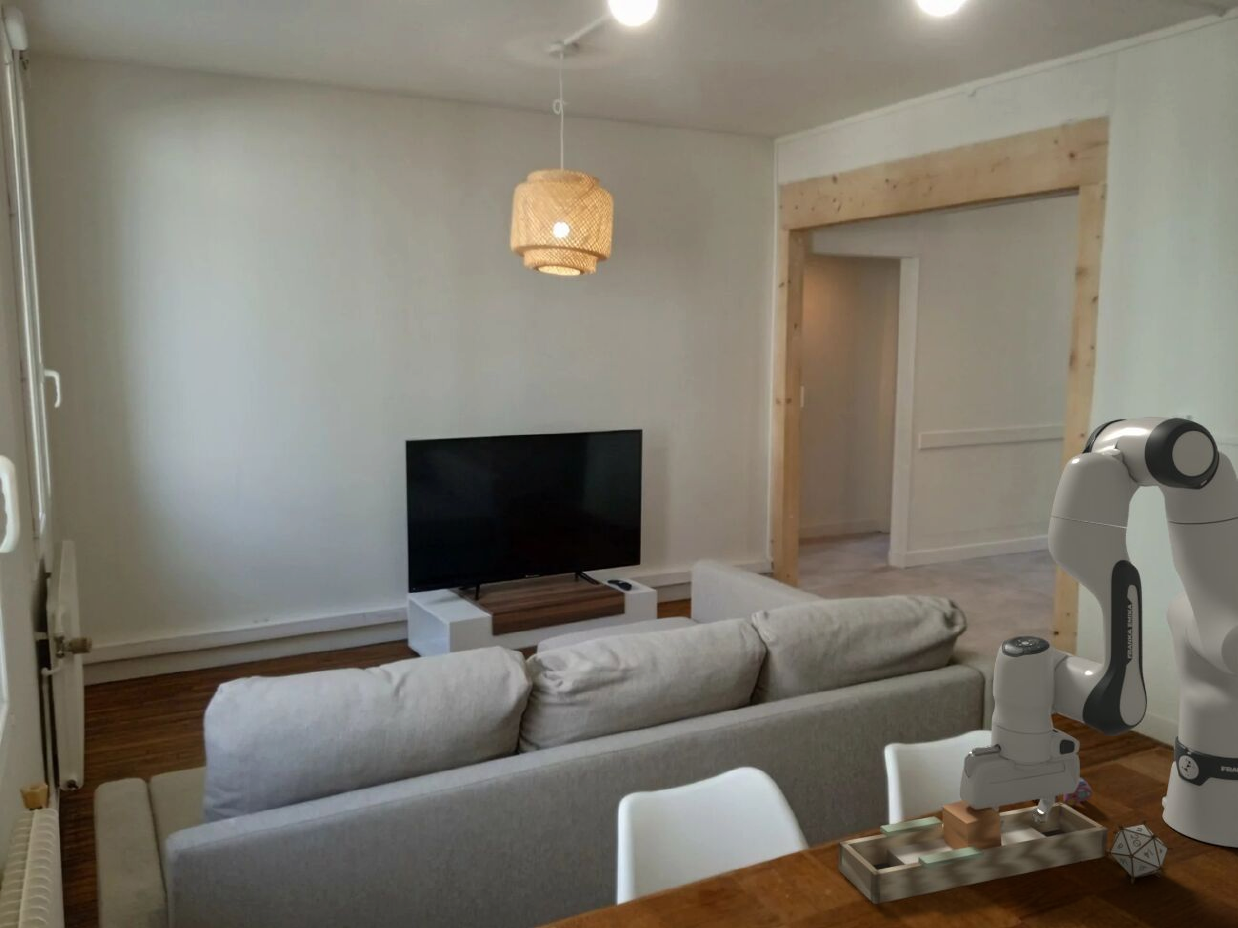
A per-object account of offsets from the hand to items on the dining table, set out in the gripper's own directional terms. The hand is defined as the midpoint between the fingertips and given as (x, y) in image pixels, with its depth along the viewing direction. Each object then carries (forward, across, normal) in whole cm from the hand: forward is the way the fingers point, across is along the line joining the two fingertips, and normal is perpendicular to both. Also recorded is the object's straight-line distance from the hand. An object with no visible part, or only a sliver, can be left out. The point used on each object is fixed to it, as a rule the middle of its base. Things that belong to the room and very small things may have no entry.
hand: (1017, 825), depth 153 cm
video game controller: (+5, +19, +12) cm, 23 cm away
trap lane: (+5, -8, 0) cm, 10 cm away
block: (+2, -8, 0) cm, 9 cm away
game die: (+5, +13, -11) cm, 18 cm away
